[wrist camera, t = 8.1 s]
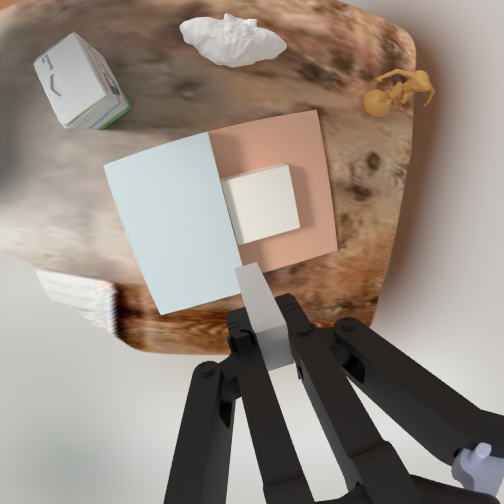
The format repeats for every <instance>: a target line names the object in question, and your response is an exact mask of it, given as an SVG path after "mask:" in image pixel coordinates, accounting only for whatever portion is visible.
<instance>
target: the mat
mask: <svg viewBox="0 0 504 504" xmlns="http://www.w3.org/2000/svg"><path fill="white" fill-rule="evenodd" d="M208 135H209V139H210V143H211V147H212V151H213V155H214V159H215V163H216V167H217V171H218V175H219V179H220V178H224V177H227V176H231V175H235V174H239V173H243V172H246V171H250V170H254V169H258V168H262V167H266V166H271V165H275V164H279V163H284V164H287V165H288V166H289V171H290V176H291V181H292V186H293V191H294V197H295V202H296V208H297V213H298V219H299V224H300V228H297V229H294V230H290V231H287V232H283V233H280V234H276V235H273V236H269V237H266V238H262V239H259V240H255V241H252V242H248V243H245V244H241V245H238V244H237V242H236V244H237V247H238V251H239V255H240V259H241V262H242V266H245V265H248V264H252V263H255V262H257V264H258V266H259V268H260V270H261V272H262V273H265V272H268V271H271V270H275V269H278V268H281V267H285V266H288V265H291V264H295V263H298V262H301V261H305V260H308V259H311V258H315V257H318V256H321V255H324V254H328V253H331V252H334V251H337V250H338V249H337V239H336V230H335V221H334V213H333V205H332V198H331V190H330V183H329V177H328V170H327V164H326V158H325V152H324V146H323V140H322V135H321V130H320V124H319V119H318V114H317V110H312V111H305V112H299V113H292V114H286V115H281V116H275V117H270V118H265V119H260V120H255V121H250V122H245V123H241V124H236V125H232V126H228V127H224V128H220V129H216V130H212V131H208ZM235 240H236V239H235Z"/></svg>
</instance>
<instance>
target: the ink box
mask: <svg viewBox="0 0 504 504" xmlns="http://www.w3.org/2000/svg"><path fill="white" fill-rule="evenodd" d="M34 66H35V70H36V72H37V74H38V77H39V79H40V81H41V83H42V85H43V88H44V91H45V93H46V95H47V97H48V99H49V100H50V103H51V105H52V108H53V110H54V112H55V114H56V115H57V117H58V120H59V122H60V123H61V124H63V126H64V128H66V129H95V130H103V129H104V128H106V127H107V126H108V125H110V124H111V123H112V122H114V121H115V120H116V119H118V118H119V117H121V116H122V115H124V114H125V113H126V112H128V111H129V110H131V109H132V106H131V104H130V103H129V101H128V99H127V97H126V96H125V94H124V92H123V91H122V89H121V87H120V85H119V84H118V82H117V80H116V78H115V77H114V75H113V73H112V71H111V69H110V68H109V66H108V64H107V62H106V60H105V58H104V57H103V56H102V55H101V54H100V53H99V52H98V51H97V50H96V49H94V48H93V47H92V46H91V45H90V44H88V43H87V42H86V41H85V40H84V39H83V38H81V37H80V36H79V35H78V34H77V33H75V32H74V31H73V32H71V33H70V34H68V35H67V36H65V37H64V38H62V39H61V40H59V41H58V42H57V43H55V44H54V45H53V46H51V47H50V48H49V49H48V50H47V51H45V52H44V53H43V54H42V55H40V56H39V57H38V58H37V59H36V60H35V62H34Z"/></svg>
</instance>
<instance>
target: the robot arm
mask: <svg viewBox="0 0 504 504" xmlns="http://www.w3.org/2000/svg"><path fill="white" fill-rule="evenodd" d="M234 270H235V274H236V277H237V281H238V284H239V288H240V291H241V294H242V298H243V301H244V305H245V307H243V308H240V309H236V310H233V311H229V312H228V314H227V317H226V320H227V325H228V330H229V336H228V338H227V342H228V344H229V347H230V349H231V354H230V355H229V356H228V358H226V359H225V360H223V361H222V362H220V363H216V362H214V361H206V362H203V363H201V364H199V365H198V366H197V367H196V368H195V370H194V372H193V375H192V379H191V384H190V387H189V392H188V396H187V400H186V404H185V408H184V413H183V417H182V421H181V425H180V430H179V434H178V439H177V443H176V447H175V452H174V456H173V461H172V466H171V470H170V475H169V480H168V484H167V489H166V494H165V499H164V504H225V503H226V494H227V484H228V474H229V464H230V454H231V443H232V433H233V424H234V413H235V403H236V401H235V400H236V399H238V398H240V397H241V396H242V400H243V405H244V409H245V413H246V418H247V422H248V426H249V430H250V434H251V438H252V442H253V446H254V450H255V454H256V457H257V462H258V465H259V469H260V473H261V476H262V481H263V491H264V496H265V500H266V503H267V504H500V502H499V501H498V499H497V498H495V497H496V495H497V492H498V490H499V487H500V485H501V483H502V480H503V477H504V416H503V415H499V414H496V413H492V412H488V411H485V410H481V409H479V408H478V407H477V406H475V405H474V404H473V403H471V402H470V401H469V400H467V399H466V398H464V397H463V396H462V395H460V394H459V393H458V392H456V391H455V390H454V389H452V388H451V387H450V386H448V385H447V384H446V383H444V382H443V381H441V380H440V379H438V378H437V377H436V376H435V375H433V374H432V373H431V372H429V371H428V370H426V369H425V368H424V367H422V366H421V365H420V364H418V363H417V362H415V361H414V360H413V359H411V358H410V357H409V356H407V355H406V354H404V353H403V352H402V351H400V350H399V349H398V348H396V347H395V346H393V345H392V344H391V343H389V342H388V341H386V340H385V339H384V338H382V337H381V336H380V335H378V334H377V333H376V332H374V331H373V330H371V329H370V328H369V327H367V326H366V325H364V324H363V323H362V322H360V321H359V320H358V319H355V318H352V317H344V318H341V319H339V320H338V321H336V322H335V324H334V327H329V328H319V327H316V326H315V325H314V324H312V323H310V321H309V320H308V318H307V316H306V315H305V313H304V311H303V310H302V308H301V306H300V305H299V303H298V301H297V300H296V298H295V297H294V296H293V295H291V294H289V293H287V294H284V295H281V296H277V297H273V295H272V293H271V291H270V289H269V287H268V284H267V282H266V280H265V278H264V276H263V274H262V272H261V270H260V268H259V266H258V264H257V262H255V263H252V264H248V265H245V266H241V267H238V268H234ZM293 358H294V359H293ZM294 361H295V363H296V367H297V373H298V378H299V379H301V380H302V383H303V385H304V387H305V389H306V392H307V394H308V396H309V399H310V401H311V403H312V406H313V408H314V410H315V412H316V414H317V417H318V419H319V421H320V424H321V426H322V428H323V430H324V433H325V435H326V437H327V440H328V442H329V444H330V446H331V449H332V451H333V453H334V455H335V458H336V460H337V462H338V464H339V467H340V468H341V471H342V473H343V476H344V478H345V482H346V486H347V489H348V491H349V492H348V493H347V494H345V495H344V496H343V497H341V498H338V499H333V500H326V501H318V502H315V501H314V499H313V497H312V494H311V491H310V489H309V485H308V483H307V480H306V478H305V475H304V473H303V470H302V468H301V465H300V462H299V459H298V457H297V454H296V451H295V449H294V445H293V443H292V440H291V437H290V434H289V431H288V429H287V426H286V423H285V420H284V417H283V414H282V411H281V409H280V406H279V403H278V400H277V397H276V394H275V391H274V388H273V385H272V383H271V379H270V377H269V374H268V371H270V370H273V369H277V368H280V367H283V366H286V365H289V364H292V363H294ZM346 376H347V377H348V378H349V379H350V380H351V381H352V382H353V383H354V384H355V385H356V386H357V387H358V388H359V389H361V390H362V391H363V392H364V393H365V394H366V395H367V396H368V397H369V398H370V399H371V400H372V401H373V402H374V403H376V404H377V405H378V406H379V407H380V408H381V409H382V410H383V411H384V412H385V413H386V414H388V415H389V416H390V417H391V418H392V419H393V420H394V421H395V422H396V423H397V424H399V425H400V426H401V427H402V428H403V429H404V430H405V431H406V432H407V433H409V434H410V435H411V436H412V437H413V438H414V439H415V440H416V441H418V442H419V443H420V444H421V445H422V446H423V447H424V448H425V449H426V450H428V451H429V452H430V453H431V454H432V455H434V456H435V457H436V458H437V459H439V460H440V461H442V462H444V463H446V464H447V465H450V466H452V470H451V472H452V475H453V478H454V479H455V480H457V481H459V482H460V483H461V484H462V485H463V487H464V489H463V488H459V487H455V486H451V485H447V484H443V483H440V482H436V481H433V480H429V479H426V478H423V477H420V476H416V475H411V474H409V473H408V471H407V469H406V468H405V466H404V464H403V462H402V461H401V459H400V457H399V456H398V454H397V452H396V450H395V449H394V447H393V446H392V444H391V443H390V442H388V441H385V440H383V438H382V437H381V435H380V433H379V432H378V430H377V428H376V427H375V425H374V423H373V421H372V420H371V418H370V416H369V414H368V413H367V411H366V409H365V408H364V406H363V404H362V403H361V401H360V399H359V397H358V396H357V394H356V392H355V391H354V389H353V387H352V385H351V384H350V382H349V380H348V379H347V377H346Z"/></svg>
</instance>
